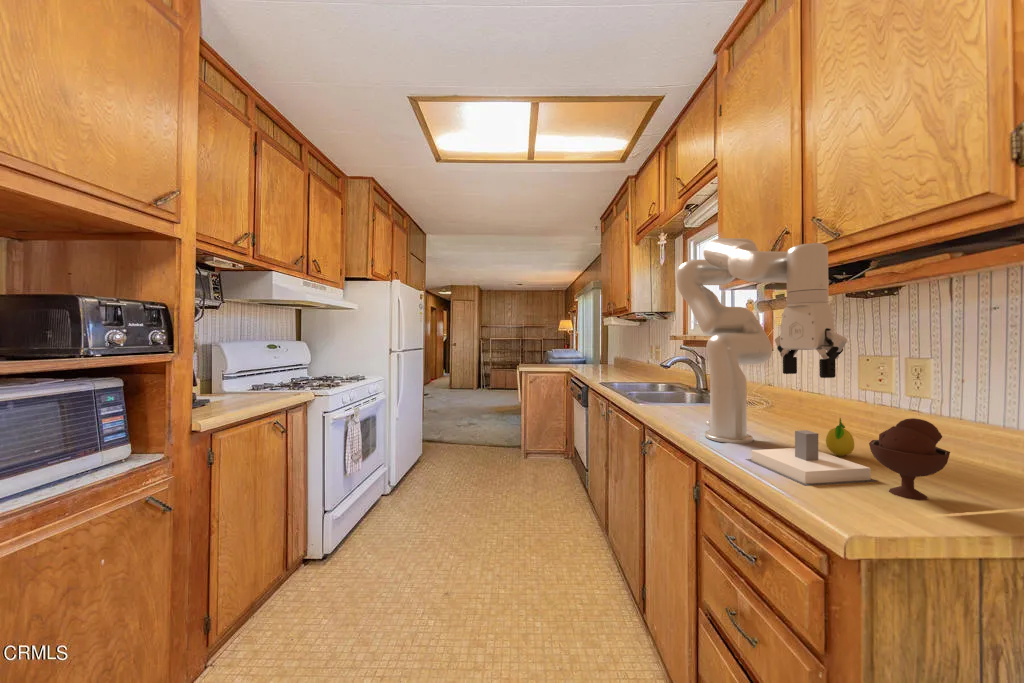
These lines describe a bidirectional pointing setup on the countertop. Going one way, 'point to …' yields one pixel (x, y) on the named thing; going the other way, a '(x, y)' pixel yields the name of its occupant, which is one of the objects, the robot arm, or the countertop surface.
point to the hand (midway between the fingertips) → (807, 375)
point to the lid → (810, 462)
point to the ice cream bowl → (910, 454)
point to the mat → (813, 483)
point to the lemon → (840, 440)
